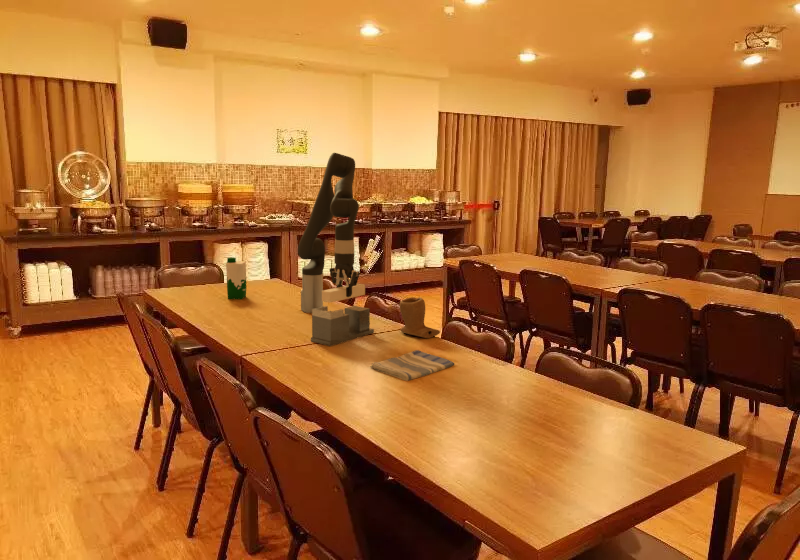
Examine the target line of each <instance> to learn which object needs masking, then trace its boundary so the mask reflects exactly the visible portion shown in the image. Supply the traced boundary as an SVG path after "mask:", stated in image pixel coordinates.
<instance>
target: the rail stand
mask: <svg viewBox="0 0 800 560" xmlns="http://www.w3.org/2000/svg"><path fill="white" fill-rule="evenodd" d="M328 308H329V307H328V305H323V307H318V308H314V309H312V313H311V331H312V332H311V337H310V342H311V343H316V344H319V345H324V346H327V347H333V346H335V345H339V344H342V343H345V342H349V341H352V340H355V339H358V338H362V337H365V336H368V335H371V334H374V333H375V332H374V331H375V329H374V328H370V322H371V321H370V319H371V318H370V317H371V316H370V315H371V314H370V310H371V308H369V307H362V306H357V305H351V306H348V307H344V309H342V308H340V309H335V310H329V309H328Z"/></svg>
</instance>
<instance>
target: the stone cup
mask: <svg viewBox="0 0 800 560" xmlns="http://www.w3.org/2000/svg"><path fill="white" fill-rule="evenodd" d="M398 307H399V311H400V314H401V316H402V319H403V321H404V326H403V327H401V328H400V329H399V331H400V332H401V333H404V334H407V335H410V336H415V337H420V338H425V339H430V338H431V339H432V338H433V336H434V337H436V336H438V335H440V333H441V331H440V330H439V329H435V328H432V327H428V326H426V325H425V317H426V316H425V315H426V302H425V300H424V298H422V297H420V296H419V297H415V296H414V297H413V296H411V297H408V298H403V299H401V300H400V301H399V306H398Z"/></svg>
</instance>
